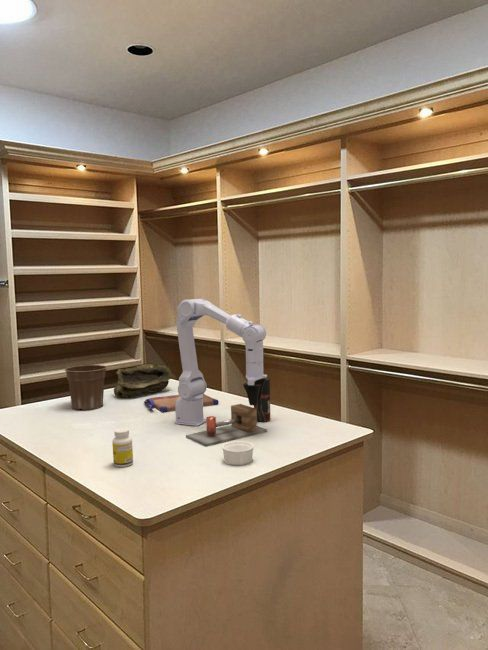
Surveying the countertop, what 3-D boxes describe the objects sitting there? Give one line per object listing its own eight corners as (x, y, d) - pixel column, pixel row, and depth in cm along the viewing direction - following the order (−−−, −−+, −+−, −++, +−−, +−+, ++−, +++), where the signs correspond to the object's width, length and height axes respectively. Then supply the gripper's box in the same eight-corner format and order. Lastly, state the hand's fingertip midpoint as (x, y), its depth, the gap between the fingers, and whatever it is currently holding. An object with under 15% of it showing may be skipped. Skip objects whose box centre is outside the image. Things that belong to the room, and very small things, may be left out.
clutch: (220, 406, 217) (200, 396, 235) (219, 394, 217) (200, 385, 234) (153, 416, 204) (138, 404, 221) (153, 403, 204) (137, 393, 221)
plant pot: (95, 400, 229) (93, 362, 228) (116, 406, 218) (114, 367, 217) (59, 407, 218) (57, 368, 216) (79, 414, 207) (77, 372, 205)
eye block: (205, 446, 165) (204, 421, 164) (185, 437, 174) (185, 413, 173) (266, 431, 179) (266, 408, 178) (245, 424, 188) (244, 401, 188)
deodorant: (269, 422, 189) (268, 380, 188) (252, 422, 191) (251, 380, 189) (271, 418, 195) (271, 377, 194) (255, 417, 196) (254, 377, 195)
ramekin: (260, 462, 151) (259, 446, 150) (233, 468, 146) (232, 453, 145) (242, 453, 158) (242, 439, 158) (216, 459, 153) (216, 444, 153)
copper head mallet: (209, 435, 171) (209, 419, 170) (204, 433, 173) (204, 417, 173) (254, 424, 181) (254, 409, 181) (249, 423, 184) (249, 408, 183)
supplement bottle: (115, 461, 153) (113, 427, 152) (134, 460, 154) (132, 426, 153) (112, 468, 148) (110, 433, 147) (132, 467, 148) (130, 432, 147)
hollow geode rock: (170, 399, 250) (159, 372, 257) (180, 383, 242) (168, 356, 249) (113, 406, 233) (103, 378, 241) (121, 390, 225) (111, 361, 233)
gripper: (263, 365, 169) (263, 408, 170) (269, 358, 183) (270, 397, 184) (241, 365, 170) (241, 407, 172) (249, 358, 184) (250, 397, 186)
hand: (255, 402), depth 178 cm, fingers open, 7 cm apart
